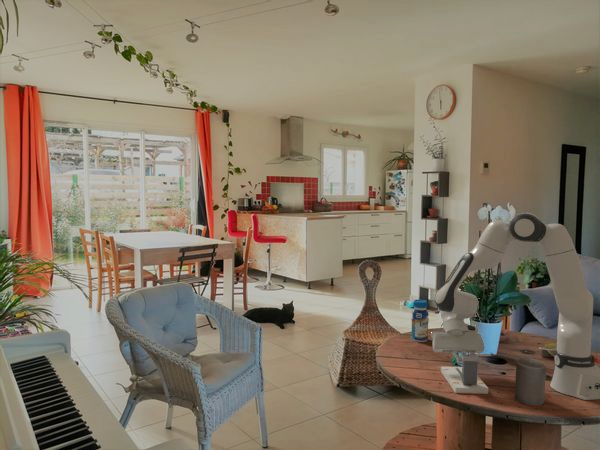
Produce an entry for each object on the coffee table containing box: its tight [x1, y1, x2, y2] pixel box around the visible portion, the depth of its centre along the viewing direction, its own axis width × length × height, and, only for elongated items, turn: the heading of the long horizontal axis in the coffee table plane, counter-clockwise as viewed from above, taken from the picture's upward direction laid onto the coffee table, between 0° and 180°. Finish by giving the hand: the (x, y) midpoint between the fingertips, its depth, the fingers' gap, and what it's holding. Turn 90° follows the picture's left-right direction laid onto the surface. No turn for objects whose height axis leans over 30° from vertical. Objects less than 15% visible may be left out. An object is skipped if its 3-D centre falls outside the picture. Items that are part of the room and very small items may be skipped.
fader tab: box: [461, 353, 479, 385], centre depth 175 cm, size 6×2×11 cm, turn 88°
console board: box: [440, 366, 489, 395], centre depth 182 cm, size 12×21×2 cm, turn 177°
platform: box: [538, 342, 557, 358], centre depth 210 cm, size 12×18×7 cm, turn 107°
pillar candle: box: [514, 357, 547, 407], centre depth 166 cm, size 10×10×15 cm
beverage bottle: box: [410, 299, 430, 343], centre depth 234 cm, size 8×8×20 cm
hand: (461, 362), depth 184 cm, fingers closed
